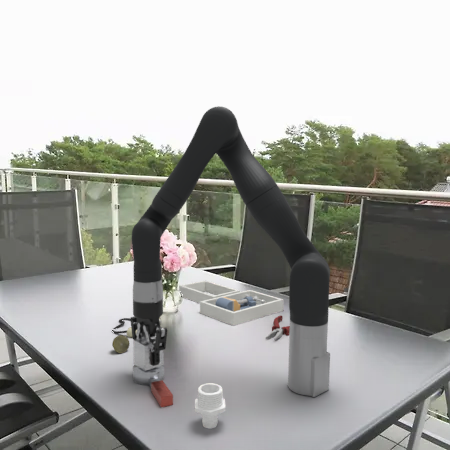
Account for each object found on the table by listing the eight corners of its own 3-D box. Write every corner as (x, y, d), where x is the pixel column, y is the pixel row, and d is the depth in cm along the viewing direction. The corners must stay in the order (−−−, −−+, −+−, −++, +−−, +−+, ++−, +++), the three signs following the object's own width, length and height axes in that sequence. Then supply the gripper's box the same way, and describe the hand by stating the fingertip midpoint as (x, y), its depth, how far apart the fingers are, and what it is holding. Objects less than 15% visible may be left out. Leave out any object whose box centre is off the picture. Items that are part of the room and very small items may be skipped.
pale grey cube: (163, 364, 117) (163, 340, 116) (145, 370, 113) (144, 345, 113) (151, 358, 121) (151, 334, 120) (133, 363, 117) (133, 339, 117)
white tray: (283, 310, 175) (283, 299, 175) (233, 325, 158) (233, 313, 157) (249, 300, 189) (249, 289, 188) (199, 313, 171) (200, 301, 171)
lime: (131, 349, 136) (130, 333, 135) (123, 355, 131) (123, 339, 131) (117, 347, 137) (117, 331, 137) (109, 354, 133) (109, 337, 132)
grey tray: (239, 301, 187) (240, 290, 187) (213, 308, 178) (213, 296, 177) (205, 290, 204) (205, 280, 203) (179, 295, 194) (179, 285, 194)
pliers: (252, 339, 147) (253, 331, 146) (278, 321, 165) (278, 313, 164) (287, 347, 141) (287, 338, 140) (310, 327, 159) (310, 319, 158)
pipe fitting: (224, 415, 100) (224, 380, 99) (225, 434, 93) (225, 397, 92) (195, 415, 100) (195, 380, 99) (194, 434, 93) (194, 397, 92)
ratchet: (183, 402, 105) (183, 375, 105) (150, 409, 102) (149, 382, 101) (159, 369, 123) (158, 345, 122) (129, 374, 119) (129, 350, 119)
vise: (230, 322, 162) (230, 303, 161) (211, 314, 170) (212, 297, 169) (265, 312, 174) (266, 295, 173) (247, 306, 181) (247, 289, 181)
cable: (97, 334, 150) (97, 324, 149) (124, 319, 165) (124, 310, 164) (138, 341, 144) (138, 330, 144) (163, 324, 159) (162, 315, 159)
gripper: (120, 293, 118) (121, 356, 120) (150, 306, 107) (151, 374, 109) (145, 289, 123) (146, 349, 125) (176, 300, 112) (176, 366, 114)
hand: (148, 360), depth 117 cm, fingers closed on pale grey cube, 5 cm apart
